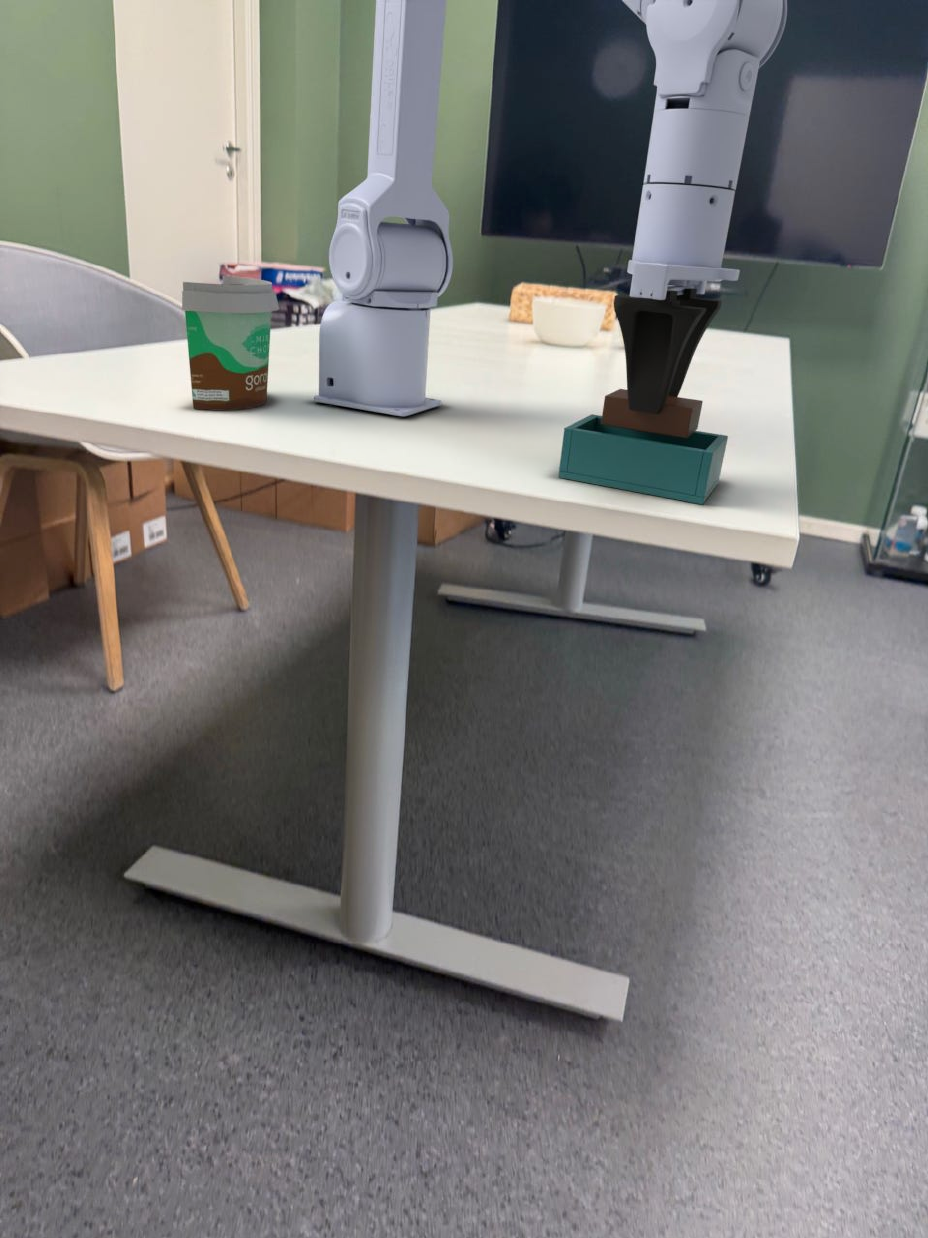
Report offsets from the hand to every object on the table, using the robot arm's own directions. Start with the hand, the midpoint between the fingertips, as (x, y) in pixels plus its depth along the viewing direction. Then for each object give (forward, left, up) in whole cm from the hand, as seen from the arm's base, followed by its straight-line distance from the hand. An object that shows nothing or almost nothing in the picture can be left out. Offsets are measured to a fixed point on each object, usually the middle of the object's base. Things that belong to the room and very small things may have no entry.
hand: (652, 406), depth 59 cm
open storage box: (0, 0, -5) cm, 5 cm away
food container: (-37, +2, -5) cm, 37 cm away
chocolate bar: (0, 0, -1) cm, 1 cm away
